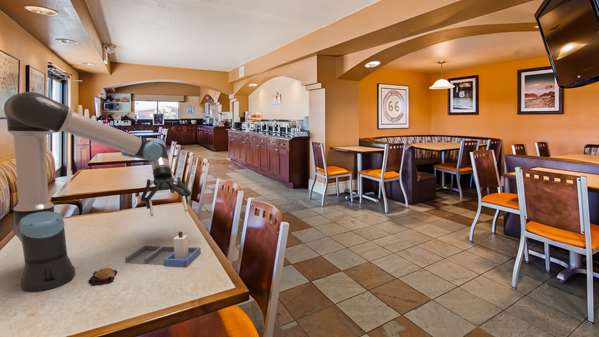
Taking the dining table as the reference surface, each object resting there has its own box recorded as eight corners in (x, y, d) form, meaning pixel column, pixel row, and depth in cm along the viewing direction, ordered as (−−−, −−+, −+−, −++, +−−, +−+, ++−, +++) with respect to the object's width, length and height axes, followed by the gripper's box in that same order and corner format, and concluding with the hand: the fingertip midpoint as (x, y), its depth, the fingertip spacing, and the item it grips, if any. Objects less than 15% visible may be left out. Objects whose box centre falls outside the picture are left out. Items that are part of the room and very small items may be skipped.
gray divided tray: (185, 267, 124) (184, 260, 124) (123, 264, 127) (123, 257, 127) (200, 253, 138) (200, 246, 138) (144, 250, 141) (144, 243, 141)
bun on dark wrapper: (92, 275, 120) (91, 265, 119) (118, 271, 123) (118, 262, 122) (86, 289, 110) (85, 278, 109) (114, 284, 113) (114, 274, 113)
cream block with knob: (184, 260, 129) (182, 233, 128) (174, 260, 130) (173, 233, 128) (188, 256, 133) (187, 229, 132) (179, 256, 134) (177, 229, 132)
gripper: (188, 172, 157) (197, 212, 148) (130, 176, 144) (136, 220, 135) (191, 164, 152) (201, 204, 143) (131, 167, 139) (137, 212, 129)
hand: (169, 212), depth 139 cm, fingers open, 13 cm apart
